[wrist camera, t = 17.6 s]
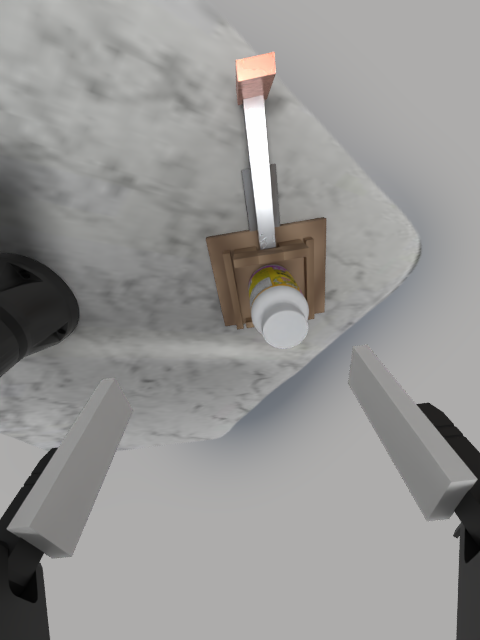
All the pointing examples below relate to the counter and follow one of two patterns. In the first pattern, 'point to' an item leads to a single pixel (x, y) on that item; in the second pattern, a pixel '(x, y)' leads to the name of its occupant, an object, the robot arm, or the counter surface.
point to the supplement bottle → (278, 307)
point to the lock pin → (258, 136)
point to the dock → (268, 258)
